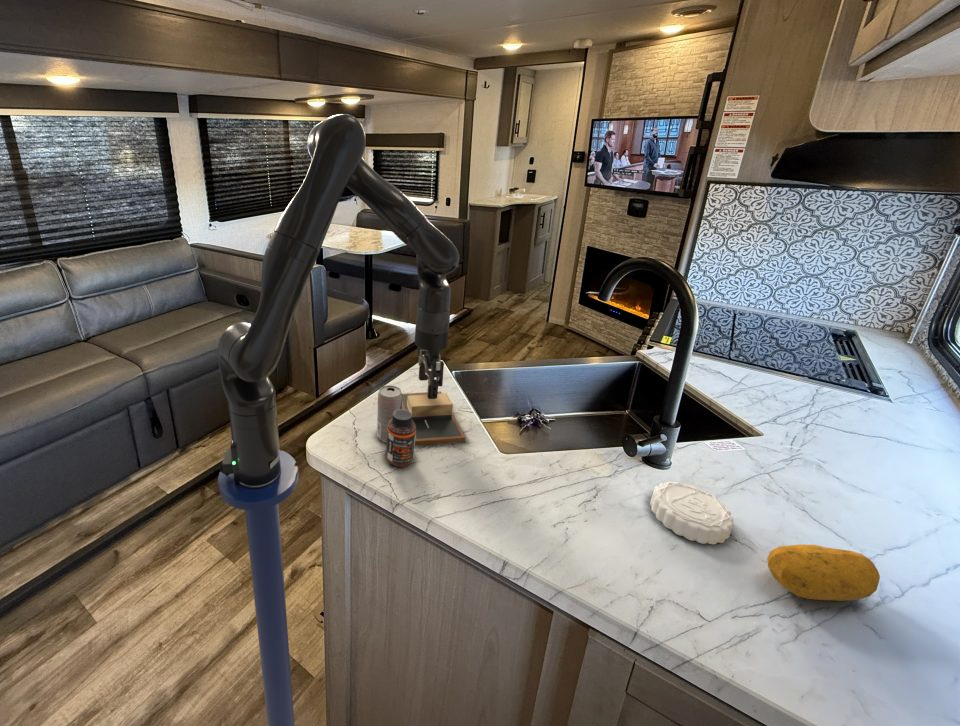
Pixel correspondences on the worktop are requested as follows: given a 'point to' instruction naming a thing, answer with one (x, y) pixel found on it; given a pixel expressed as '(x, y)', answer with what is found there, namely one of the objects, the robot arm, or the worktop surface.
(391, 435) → the supplement bottle
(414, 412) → the eraser
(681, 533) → the mooncake
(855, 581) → the potato
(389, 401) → the energy drink
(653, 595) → the worktop surface
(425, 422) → the chalkboard
